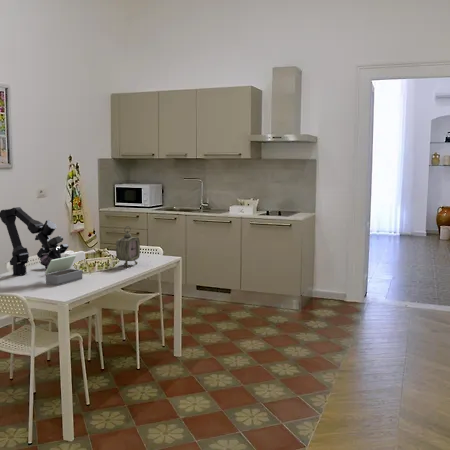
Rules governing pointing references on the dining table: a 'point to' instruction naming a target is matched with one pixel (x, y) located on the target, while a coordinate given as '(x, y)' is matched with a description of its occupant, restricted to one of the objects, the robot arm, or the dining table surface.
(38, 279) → the dining table surface
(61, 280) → the grey open box
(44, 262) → the decorative flower
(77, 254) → the cable organizer
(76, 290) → the dining table surface
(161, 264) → the dining table surface
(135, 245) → the tabletop clock
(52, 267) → the cover
